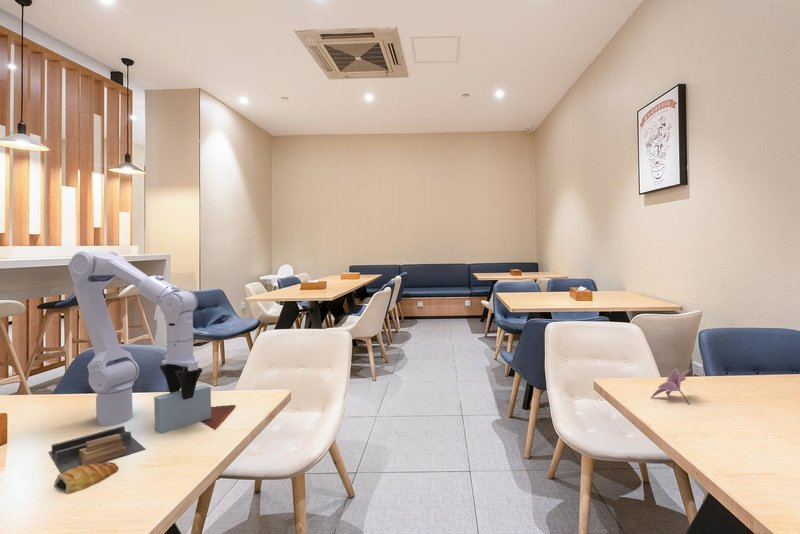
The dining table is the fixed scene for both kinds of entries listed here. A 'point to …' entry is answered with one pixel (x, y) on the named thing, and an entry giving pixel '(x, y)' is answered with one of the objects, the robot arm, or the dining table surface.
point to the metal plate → (68, 451)
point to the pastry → (84, 476)
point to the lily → (672, 383)
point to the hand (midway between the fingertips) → (181, 395)
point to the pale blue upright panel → (182, 409)
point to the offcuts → (101, 449)
